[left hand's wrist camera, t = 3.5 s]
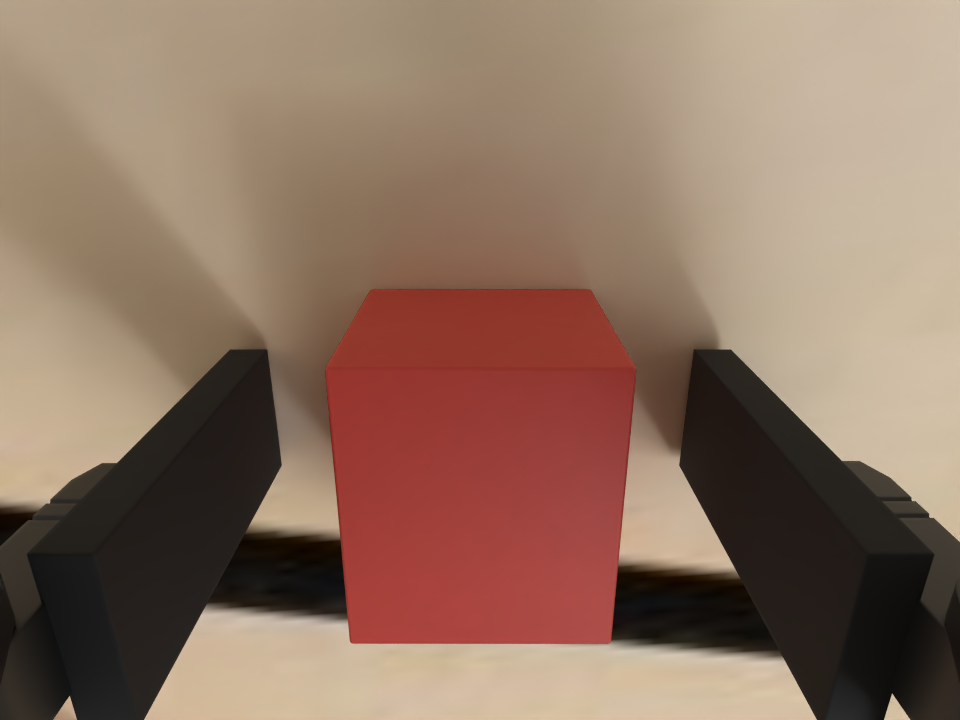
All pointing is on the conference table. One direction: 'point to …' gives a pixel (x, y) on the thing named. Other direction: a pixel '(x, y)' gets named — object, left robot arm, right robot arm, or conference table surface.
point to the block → (480, 466)
